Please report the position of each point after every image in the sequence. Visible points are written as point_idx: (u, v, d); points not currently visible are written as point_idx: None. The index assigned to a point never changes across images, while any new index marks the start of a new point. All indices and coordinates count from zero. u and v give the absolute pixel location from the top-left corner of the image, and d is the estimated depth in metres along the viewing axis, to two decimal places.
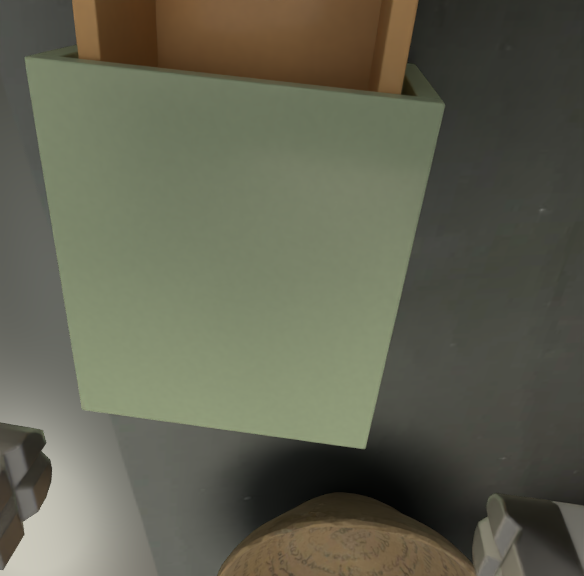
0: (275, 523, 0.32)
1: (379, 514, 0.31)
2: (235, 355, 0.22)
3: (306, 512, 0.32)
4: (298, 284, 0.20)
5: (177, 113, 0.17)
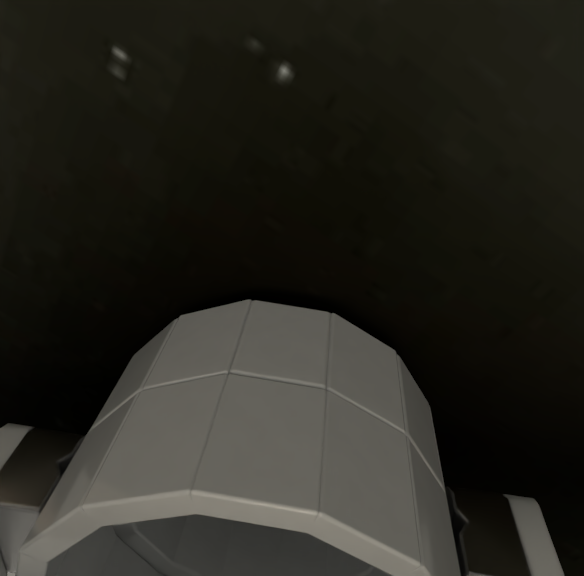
0: None
1: None
2: None
3: None
4: None
5: None
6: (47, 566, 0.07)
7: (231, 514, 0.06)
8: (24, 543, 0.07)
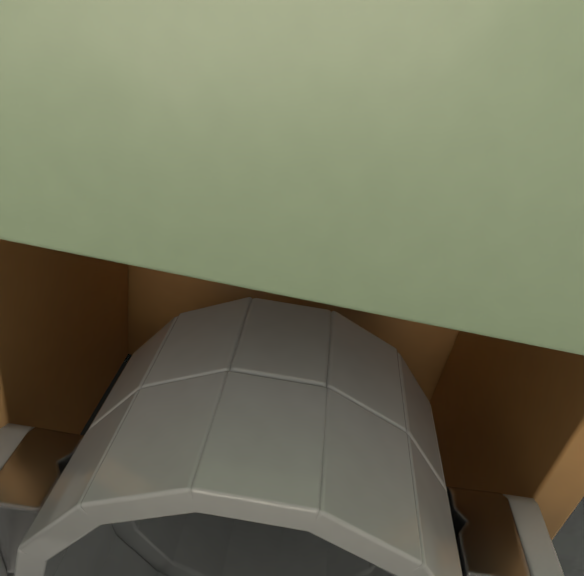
0: None
1: None
2: None
3: None
4: None
5: (483, 237, 0.06)
6: (46, 565, 0.07)
7: (231, 512, 0.06)
8: (23, 541, 0.06)
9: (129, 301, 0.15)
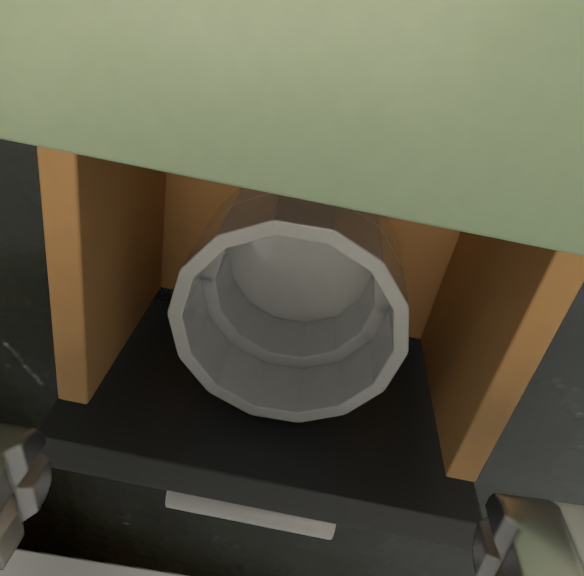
0: None
1: None
2: None
3: None
4: None
5: (441, 153, 0.08)
6: (192, 281, 0.13)
7: (292, 233, 0.12)
8: (182, 266, 0.13)
9: (164, 237, 0.17)
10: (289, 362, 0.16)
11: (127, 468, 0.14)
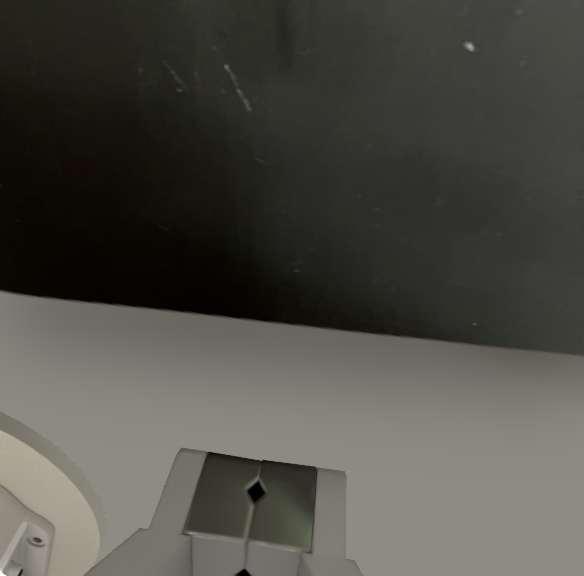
0: None
1: None
2: None
3: None
4: None
5: None
6: None
7: None
8: None
9: None
10: None
11: None
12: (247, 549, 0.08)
